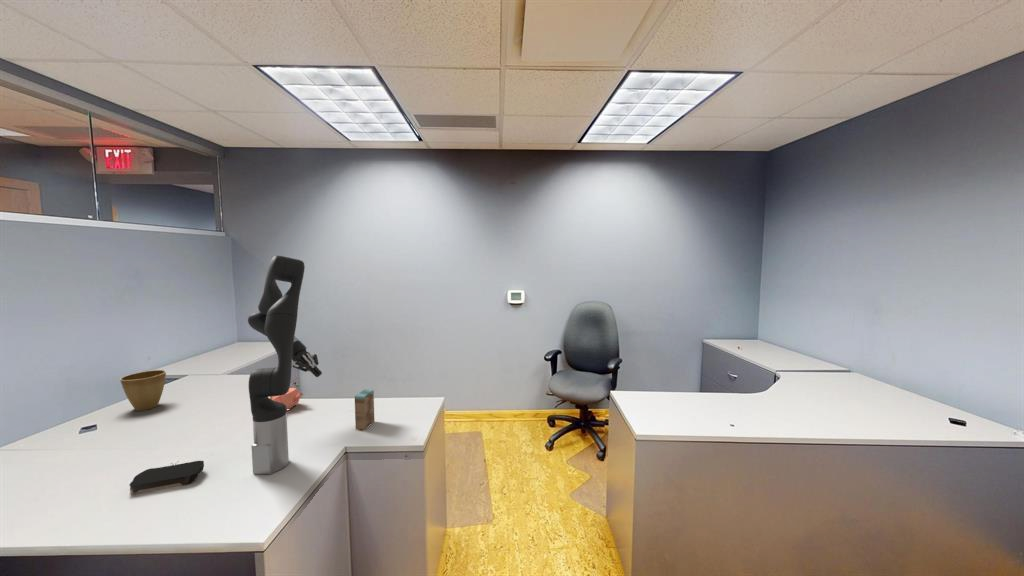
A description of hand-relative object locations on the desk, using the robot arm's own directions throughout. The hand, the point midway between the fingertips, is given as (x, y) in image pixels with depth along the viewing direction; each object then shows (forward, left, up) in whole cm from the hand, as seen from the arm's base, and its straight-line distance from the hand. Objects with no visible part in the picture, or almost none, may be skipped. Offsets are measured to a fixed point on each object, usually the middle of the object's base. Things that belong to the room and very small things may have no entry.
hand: (319, 375), depth 145 cm
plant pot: (+10, +95, -21) cm, 98 cm away
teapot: (+14, +27, -21) cm, 37 cm away
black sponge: (-41, +23, -22) cm, 52 cm away
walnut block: (0, -19, -21) cm, 29 cm away
